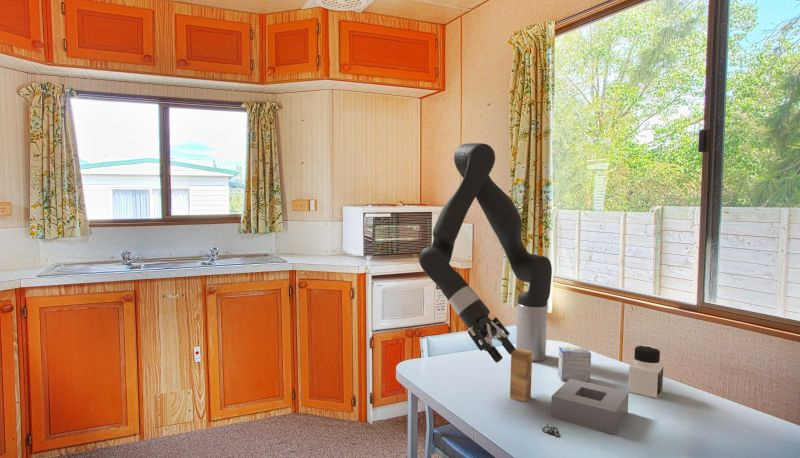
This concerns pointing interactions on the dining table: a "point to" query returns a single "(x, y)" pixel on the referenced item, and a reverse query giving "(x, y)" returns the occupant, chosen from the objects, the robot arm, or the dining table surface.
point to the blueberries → (550, 430)
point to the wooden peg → (521, 374)
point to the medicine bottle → (646, 372)
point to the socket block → (590, 405)
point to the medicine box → (574, 364)
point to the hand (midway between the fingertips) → (506, 356)
